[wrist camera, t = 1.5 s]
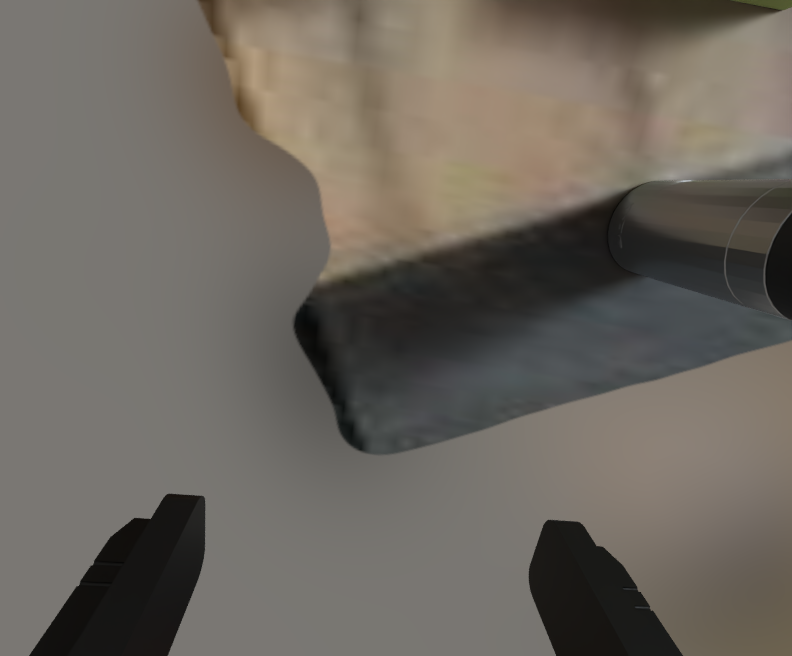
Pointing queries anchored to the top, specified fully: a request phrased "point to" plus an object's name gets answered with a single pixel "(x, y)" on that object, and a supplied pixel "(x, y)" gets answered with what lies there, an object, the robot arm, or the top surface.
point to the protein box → (769, 3)
